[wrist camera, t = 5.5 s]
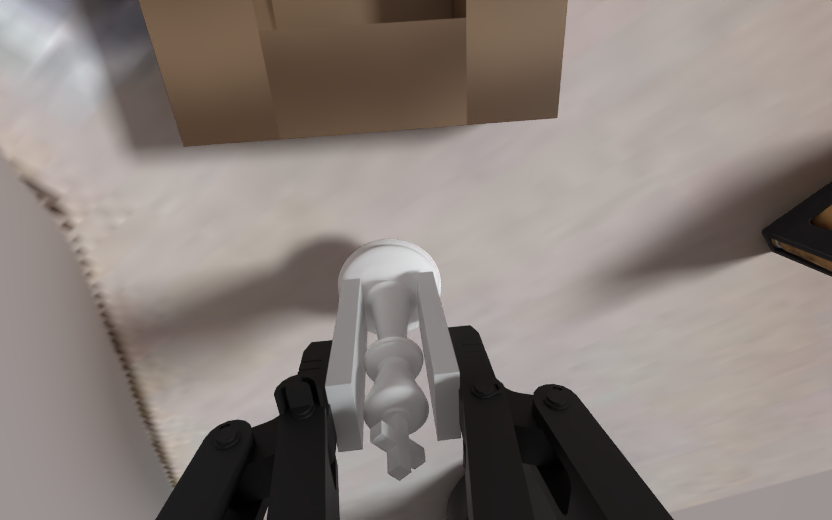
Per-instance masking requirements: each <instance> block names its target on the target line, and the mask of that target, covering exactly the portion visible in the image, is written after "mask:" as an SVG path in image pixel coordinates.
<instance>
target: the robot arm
mask: <svg viewBox="0 0 832 520" xmlns="http://www.w3.org/2000/svg"><path fill="white" fill-rule="evenodd" d="M416 287H417V301H418V315H419V326H420V333H421V339H422V345H423V352H424V358H425V364H426V370H427V377H428V383H429V389H430V395H431V402H432V408H433V414H434V421H435V427H436V433H437V439H438V441H439V440H448V439H457V438H461V432H462V437H463V463H464V468H465V476H464V477H463V478H462V479H461V481H460V482H459V483H458V485H457V486H456V487H455V489H454V491H453V492H452V494H451V497H450V499H449V502H448V506H447V520H674V519H673V518H672V517H671V516H670V514H669V513H668V512H667V510H666V509H665V508H664V507H663V505H662V504H661V503H660V501H659V500H658V499H657V498H656V496H655V495H654V494H653V492H652V491H651V490H650V489H649V487H648V486H647V485H646V484H645V482H644V481H643V480H642V478H641V477H640V476H639V475H638V473H637V472H636V471H635V469H634V468H633V467H632V466H631V464H630V463H629V462H628V460H627V459H626V458H625V457H624V455H623V454H622V453H621V451H620V450H619V449H618V448H617V446H616V445H615V444H614V443H613V441H612V440H611V439H610V437H609V436H608V435H607V434H606V432H605V431H604V430H603V428H602V427H601V426H600V425H599V423H598V422H597V421H596V419H595V418H594V417H593V416H592V414H591V413H590V412H589V410H588V409H587V408H586V407H585V405H584V404H583V403H582V402H581V400H580V399H579V398H578V396H577V395H576V394H575V393H573V392H572V391H571V390H570V389H568V388H566V387H564V386H560V385H555V384H547V385H543V386H540V387H538V388H537V389H536V390H535V391H534V394H533V395H530V394H523V393H517V392H513V391H511V390H508V389H506V388H505V387H504V385H503V384H502V383H501V382H500V381H499V380H497V379H496V377H495V374H494V372H493V369H492V367H491V364H490V361H489V359H488V356H487V353H486V351H485V348H484V346H483V344H482V340H481V338H480V335H479V333H478V332H477V331H476V330H475V329H474V328H473V327H472V326H470V325H469V326H459V327H449V328H448V327H447V323H446V319H445V316H444V312H443V308H442V304H441V301H440V297H439V293H438V289H437V286H436V282H435V278H434V275H433V271H431V272H421V273H416ZM366 351H367V324H366V316H365V309H364V302H363V295H362V287H361V280H360V278H357V279H347V280H343V282H342V288H341V294H340V300H339V306H338V311H337V317H336V323H335V329H334V335H333V340H330V341H320V342H311V344H310V345H309V346H308V347H307V348H306V349H305V351H304V352H303V356H302V360H301V364H300V367H299V372H298V375H295V376H292V377H289V378H287V379H286V380H284V381H282V382H281V383H280V384H279V385H278V386H277V388H276V390H275V392H274V396H275V400H276V403H277V407H278V410H279V414H280V415H279V416H278V417H276V418H275V419H273V420H271V421H268V422H266V423H263V424H261V425H258V426H255V427H252V428H251V425H250V424H249V423H247V422H246V421H243V420H232V421H228V422H225V423H223V424H221V425H219V426H217V427H216V428H214V429H213V430H212V431H210V433H209V434H208V435H207V436H206V437H205V439H204V440H203V442H202V444H201V445H200V447H199V449H198V450H197V452H196V454H195V455H194V457H193V458H192V460H191V462H190V463H189V465H188V467H187V468H186V470H185V472H184V473H183V475H182V477H181V478H180V480H179V482H178V483H177V485H176V487H175V488H174V490H173V491H172V493H171V495H170V496H169V498H168V500H167V501H166V503H165V505H164V506H163V508H162V510H161V511H160V513H159V515H158V517H157V518H156V519H155V520H263V518H264V516H265V513H266V510H267V508H268V513H267V520H340V514H339V488H338V465H337V460H336V456H335V452H336V443H337V447H338V452H344V451H352V450H361V449H363V424H364V417H363V407H364V400H365V376H366V370H365V368H364V362H363V360H364V355H365V352H366Z"/></svg>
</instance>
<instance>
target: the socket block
mask: <svg viewBox="0 0 832 520" xmlns="http://www.w3.org/2000/svg"><path fill="white" fill-rule="evenodd" d="M567 2H568V0H139V3H140V6H141V10H142V13H143V16H144V19H145V23H146V26H147V29H148V32H149V36H150V39H151V42H152V45H153V49H154V52H155V55H156V58H157V61H158V65H159V68H160V71H161V74H162V78H163V81H164V84H165V87H166V91H167V94H168V97H169V100H170V104H171V107H172V110H173V113H174V116H175V120H176V123H177V126H178V129H179V133H180V136H181V139H182V142H183V146H184V147H186V146H199V145H212V144H225V143H238V142H251V141H264V140H277V139H290V138H303V137H316V136H329V135H342V134H355V133H368V132H381V131H394V130H407V129H420V128H433V127H446V126H459V125H472V124H485V123H498V122H511V121H524V120H537V119H550V118H557V115H558V104H559V93H560V81H561V70H562V59H563V47H564V36H565V25H566V13H567Z"/></svg>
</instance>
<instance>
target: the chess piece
mask: <svg viewBox="0 0 832 520" xmlns="http://www.w3.org/2000/svg"><path fill="white" fill-rule="evenodd" d="M431 271H433V275H434V278H435V282H436V286H437V289H438V293H439V297H440V294H441V279H440V273H439V270H438V268H437V265H436V264H435V262H434V260H433V259H432V258H431V256H430V255H429V254H428V253H427V252H425V251H424V250H423V249H422V248H420V247H418V246H417V245H415V244H412V243H410V242H407V241H403V240H398V239H383V240H377V241H373V242H370V243H368V244H366V245H364V246H362V247H360V248H359V249H357V250H356V251H354V252H353V253H352V254H351V255H350V256H349V257H348V258H347V260H346V261H345V263H344V264H343V266H342V268H341V271H340V273H339V278H338V293H339V300H340V294H341V288H342V282H343V280H347V279H357V278H360V280H361V287H362V295H363V302H364V309H365V316H366V324H367V331H369V332H372V333H375V334H377V335H378V340H377V341H375V342H374V343H373V344H371V345H370V346H369V348H368V349H367V351H366V352H365V355H364V360H363V362H364V368H365V370H366V372H367V374H368V376H369V377H370V378H371V379H372V380H373V381H374V385H373V387H372V389H371V391H370V392H369V394H368V396H367V398H366V401H365V403H364V407H363V417H364V420H365V422H366V424H367V425H368V427H369V428H370V429H371V431H370V442H371V443H372V444H374V445H376V446H377V447H379V448H380V449H382V450H384V451H385V452H387V465H388V474H389V475H391V476H393V477H394V478H396V479H398V480H399V481H400V480H401V479H403V478H404V477H405V476H407V475H408V474H409V473H411V468H412V469H414V470H415V469H416V468H418V467H419V466H420V465H422V464H423V463H424V462H426V461H425V453H424V448H423V447H421V446H420V445H418V444H417V443H415V442H414V441H412V440H411V439H409V436H408V435H409V434H411V433H413V432H415V431H417V430H418V429H419V428H420V427H421V426H422V425H423V424H424V423H425V421H426V419H427V417H428V414H429V405H428V401H427V399H426V397H425V395H424V393H423V392H422V390H421V388H420V387H419V386H418V385H417V383H416V382H415V378H416V377H417V376H418V375H419V373H420V371H421V368H422V365H423V354H422V351H421V349H420V348H419V346H418V345H417V344H416V343H415V342H413V341H412V340H410V339H408V338H407V332H409V331H411V330H413V329H415V328H417V327H419V315H418V301H417V287H416V273H421V272H431Z"/></svg>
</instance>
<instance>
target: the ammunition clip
mask: <svg viewBox="0 0 832 520" xmlns="http://www.w3.org/2000/svg"><path fill="white" fill-rule="evenodd" d="M762 231H763V232H762V234H763V236H764V237H765V239H766V241H767V243H768V245H769V246H770V248H771V250H772V252H774V253H777V254H779V255H781V256H784V257H786V258H789V259H791V260H793V261H796V262H798V263H800V264H803V265H805V266H808V267H810V268H812V269H815V270H817V271H820V272H822V273H824V274H827V275H829V276H832V182H830V183H829V184H827V185H826V186H825V187H823V188H822V189H820V190H819V191H817V192H816V193H815V194H813V195H812V196H810V197H809V198H807V199H806V200H805V201H803V202H802V203H800V204H799V205H797V206H796V207H795V208H793V209H792V210H790V211H789V212H787V213H786V214H785V215H783V216H782V217H780V218H779V219H777V220H776V221H775V222H773V223H772V224H770V225H769V226H767V227H766V228H765V229H763V230H762Z"/></svg>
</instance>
